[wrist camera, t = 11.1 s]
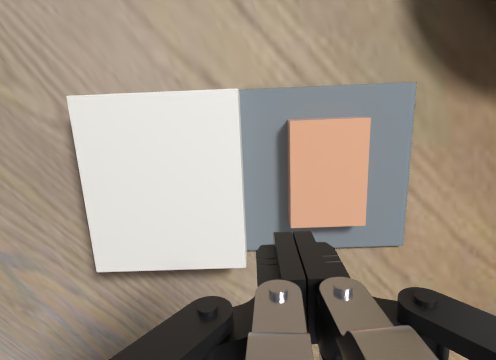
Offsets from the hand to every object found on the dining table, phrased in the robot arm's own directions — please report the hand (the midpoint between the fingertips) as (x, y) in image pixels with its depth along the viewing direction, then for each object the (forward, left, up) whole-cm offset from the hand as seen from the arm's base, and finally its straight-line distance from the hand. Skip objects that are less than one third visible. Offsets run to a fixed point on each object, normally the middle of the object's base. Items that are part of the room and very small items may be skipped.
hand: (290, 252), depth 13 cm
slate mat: (+1, +6, -19) cm, 20 cm away
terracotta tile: (+1, +5, -17) cm, 18 cm away
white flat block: (+1, -9, -19) cm, 21 cm away
